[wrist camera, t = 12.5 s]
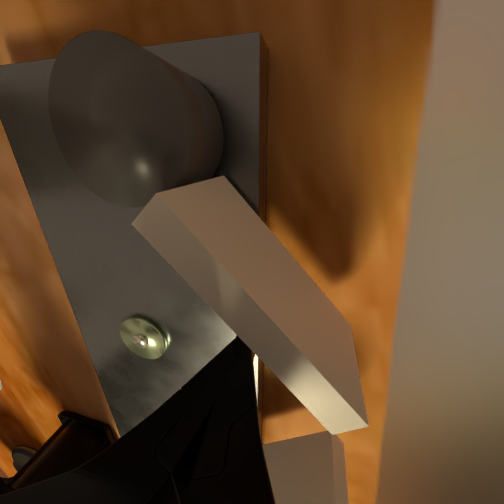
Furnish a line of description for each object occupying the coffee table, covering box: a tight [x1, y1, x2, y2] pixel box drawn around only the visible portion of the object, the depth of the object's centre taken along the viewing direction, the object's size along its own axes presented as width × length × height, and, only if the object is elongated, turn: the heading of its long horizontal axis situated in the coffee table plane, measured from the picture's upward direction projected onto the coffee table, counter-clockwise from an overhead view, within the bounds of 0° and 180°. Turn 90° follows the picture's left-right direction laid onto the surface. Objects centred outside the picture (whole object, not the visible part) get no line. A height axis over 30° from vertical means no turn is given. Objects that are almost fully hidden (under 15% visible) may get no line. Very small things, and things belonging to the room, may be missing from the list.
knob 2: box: [263, 431, 349, 504], centre depth 15 cm, size 13×4×4 cm, turn 131°
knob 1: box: [48, 31, 369, 435], centre depth 8 cm, size 13×4×4 cm, turn 42°
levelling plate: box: [0, 32, 269, 439], centre depth 15 cm, size 13×29×2 cm, turn 0°
